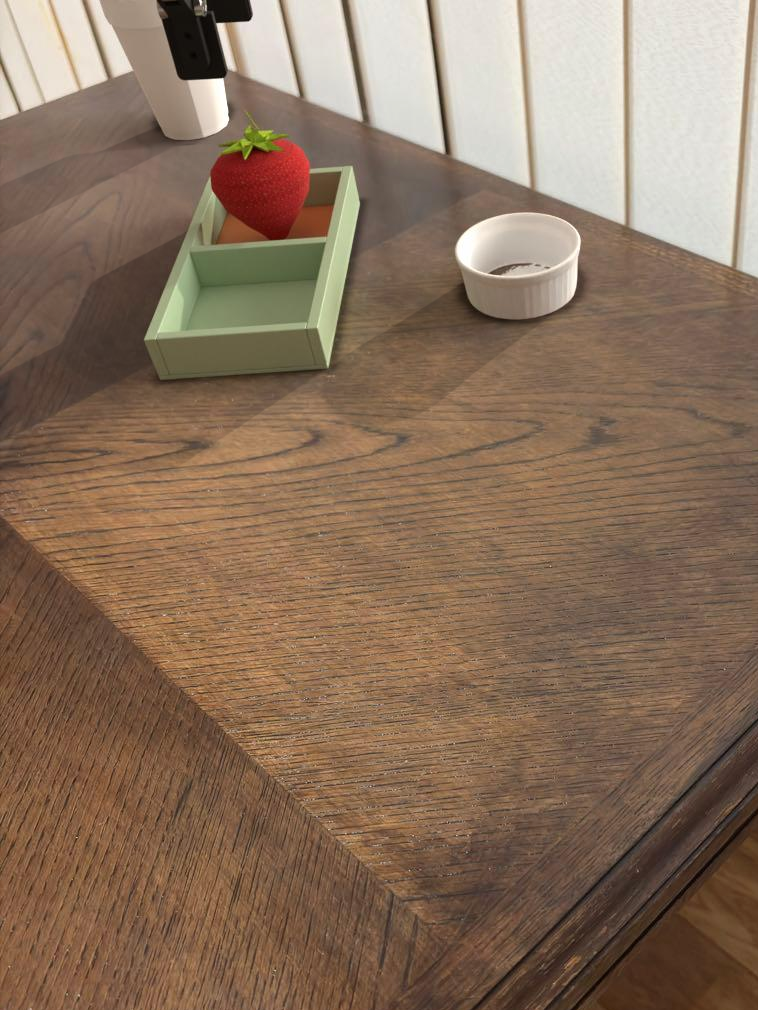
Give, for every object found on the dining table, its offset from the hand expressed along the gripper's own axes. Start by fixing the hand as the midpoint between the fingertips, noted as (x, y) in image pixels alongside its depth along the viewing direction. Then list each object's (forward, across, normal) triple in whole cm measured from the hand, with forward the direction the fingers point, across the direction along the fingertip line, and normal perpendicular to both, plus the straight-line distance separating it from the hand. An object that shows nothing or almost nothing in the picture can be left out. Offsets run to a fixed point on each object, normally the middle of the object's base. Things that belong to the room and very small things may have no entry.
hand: (218, 48), depth 73 cm
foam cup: (+16, -25, -11) cm, 32 cm away
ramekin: (+16, +8, +20) cm, 27 cm away
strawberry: (+15, 0, +1) cm, 15 cm away
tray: (+16, +5, +1) cm, 17 cm away
